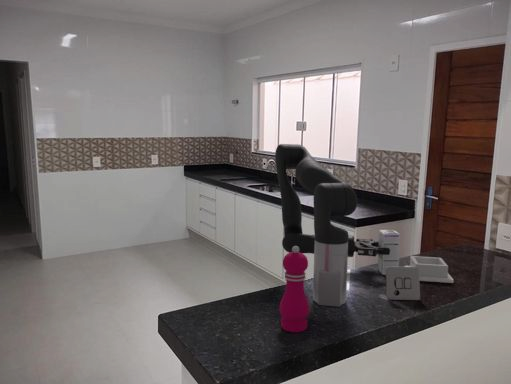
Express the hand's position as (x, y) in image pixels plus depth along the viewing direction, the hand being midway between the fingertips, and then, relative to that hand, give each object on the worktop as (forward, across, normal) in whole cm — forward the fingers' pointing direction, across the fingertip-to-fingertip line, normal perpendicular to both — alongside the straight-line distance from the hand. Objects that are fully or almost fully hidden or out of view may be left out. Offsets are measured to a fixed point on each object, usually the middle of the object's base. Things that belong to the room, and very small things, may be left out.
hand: (388, 248), depth 142 cm
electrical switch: (+1, -23, +9) cm, 25 cm away
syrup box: (0, 0, +9) cm, 9 cm away
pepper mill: (-27, -49, +9) cm, 57 cm away
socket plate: (+13, 0, +8) cm, 16 cm away
